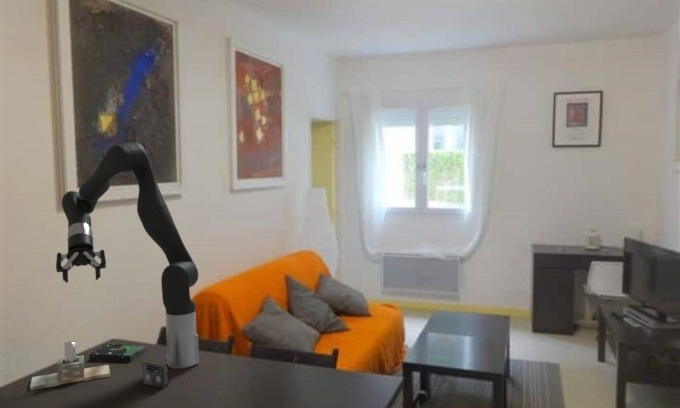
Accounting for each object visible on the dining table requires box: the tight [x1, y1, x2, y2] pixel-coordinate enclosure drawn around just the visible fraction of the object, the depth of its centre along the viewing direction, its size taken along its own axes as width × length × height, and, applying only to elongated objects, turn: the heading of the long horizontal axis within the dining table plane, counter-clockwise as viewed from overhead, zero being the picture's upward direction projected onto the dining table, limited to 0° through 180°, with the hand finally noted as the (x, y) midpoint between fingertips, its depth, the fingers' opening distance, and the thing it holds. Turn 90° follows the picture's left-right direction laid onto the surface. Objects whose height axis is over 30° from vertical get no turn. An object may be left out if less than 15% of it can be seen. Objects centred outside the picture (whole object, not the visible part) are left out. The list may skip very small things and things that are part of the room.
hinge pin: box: [63, 340, 77, 364], centre depth 155 cm, size 3×3×10 cm
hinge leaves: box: [29, 354, 111, 391], centre depth 155 cm, size 21×8×6 cm, turn 117°
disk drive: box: [88, 343, 147, 363], centre depth 174 cm, size 10×3×15 cm
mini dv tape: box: [141, 362, 169, 389], centre depth 150 cm, size 8×2×6 cm, turn 65°
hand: (82, 279), depth 161 cm, fingers open, 8 cm apart
